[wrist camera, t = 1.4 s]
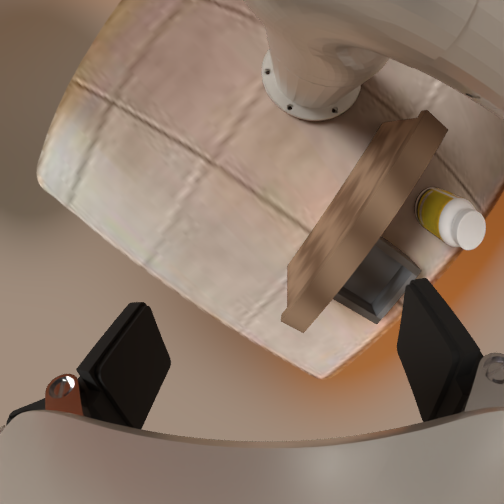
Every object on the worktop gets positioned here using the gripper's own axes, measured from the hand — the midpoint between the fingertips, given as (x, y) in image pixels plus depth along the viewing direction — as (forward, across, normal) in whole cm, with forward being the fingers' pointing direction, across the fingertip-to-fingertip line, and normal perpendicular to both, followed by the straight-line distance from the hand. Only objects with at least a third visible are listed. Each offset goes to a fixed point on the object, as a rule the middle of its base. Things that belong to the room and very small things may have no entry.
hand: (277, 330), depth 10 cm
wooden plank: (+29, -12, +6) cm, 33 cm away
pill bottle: (+30, -21, +4) cm, 37 cm away
